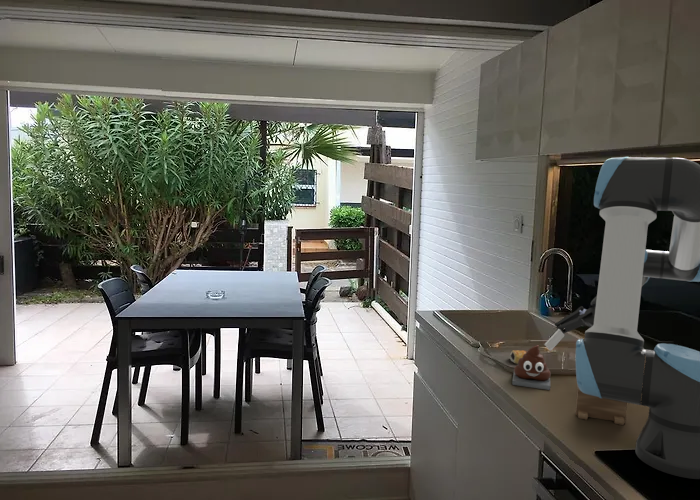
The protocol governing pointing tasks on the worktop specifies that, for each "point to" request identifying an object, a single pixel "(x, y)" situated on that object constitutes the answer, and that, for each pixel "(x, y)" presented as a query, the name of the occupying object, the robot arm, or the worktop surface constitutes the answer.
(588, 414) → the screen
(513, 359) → the pastry
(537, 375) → the poop emoji
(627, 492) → the worktop surface
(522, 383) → the board
